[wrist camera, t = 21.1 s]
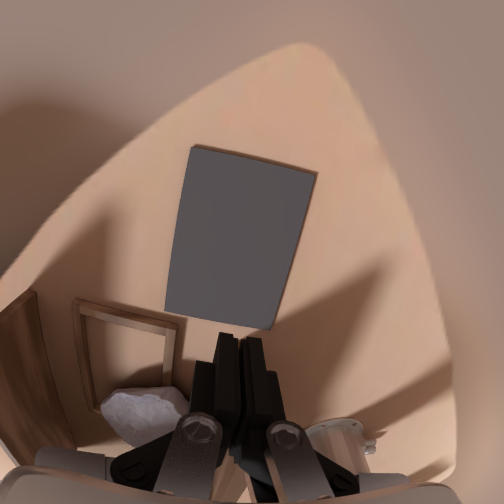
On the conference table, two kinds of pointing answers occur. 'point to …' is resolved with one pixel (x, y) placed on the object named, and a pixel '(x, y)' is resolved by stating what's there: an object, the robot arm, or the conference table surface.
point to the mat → (235, 238)
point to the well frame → (44, 392)
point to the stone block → (144, 412)
